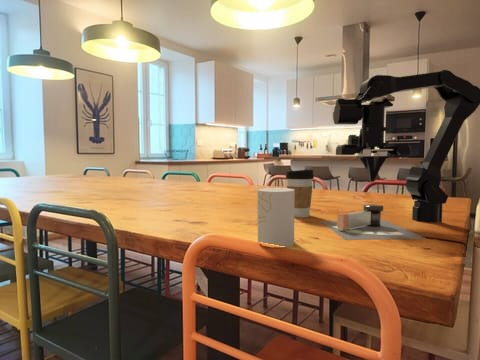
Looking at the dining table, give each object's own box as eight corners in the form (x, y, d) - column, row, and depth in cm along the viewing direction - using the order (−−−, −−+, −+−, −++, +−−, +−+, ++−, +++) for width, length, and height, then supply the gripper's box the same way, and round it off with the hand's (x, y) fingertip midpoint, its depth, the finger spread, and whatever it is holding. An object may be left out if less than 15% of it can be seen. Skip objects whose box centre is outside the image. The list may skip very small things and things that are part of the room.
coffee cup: (313, 221, 100) (314, 170, 99) (284, 220, 102) (284, 170, 101) (313, 216, 108) (313, 169, 107) (286, 215, 110) (286, 168, 109)
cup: (255, 239, 80) (255, 188, 80) (289, 238, 81) (289, 187, 80) (260, 248, 72) (260, 192, 71) (298, 247, 73) (298, 191, 72)
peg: (371, 222, 93) (371, 203, 92) (386, 225, 89) (387, 206, 88) (332, 229, 85) (333, 208, 85) (348, 233, 81) (348, 211, 81)
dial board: (385, 224, 96) (385, 219, 96) (426, 242, 76) (426, 237, 76) (321, 225, 95) (321, 220, 95) (345, 244, 75) (345, 238, 75)
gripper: (392, 126, 102) (391, 178, 103) (330, 126, 101) (329, 179, 102) (412, 123, 91) (411, 182, 92) (342, 123, 90) (341, 182, 91)
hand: (371, 181), depth 95 cm, fingers closed
